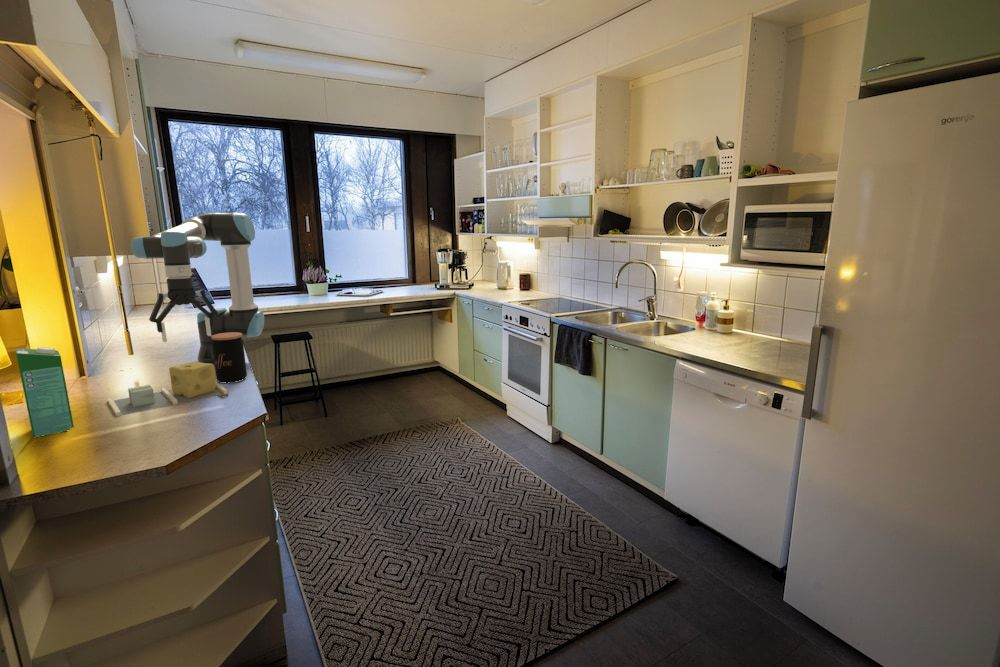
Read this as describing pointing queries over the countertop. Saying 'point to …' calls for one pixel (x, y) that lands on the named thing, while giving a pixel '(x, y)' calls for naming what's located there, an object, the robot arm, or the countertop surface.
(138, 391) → the sage block
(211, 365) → the cheese
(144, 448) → the countertop surface
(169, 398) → the slot board
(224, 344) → the coffee jar
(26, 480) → the countertop surface
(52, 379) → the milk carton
